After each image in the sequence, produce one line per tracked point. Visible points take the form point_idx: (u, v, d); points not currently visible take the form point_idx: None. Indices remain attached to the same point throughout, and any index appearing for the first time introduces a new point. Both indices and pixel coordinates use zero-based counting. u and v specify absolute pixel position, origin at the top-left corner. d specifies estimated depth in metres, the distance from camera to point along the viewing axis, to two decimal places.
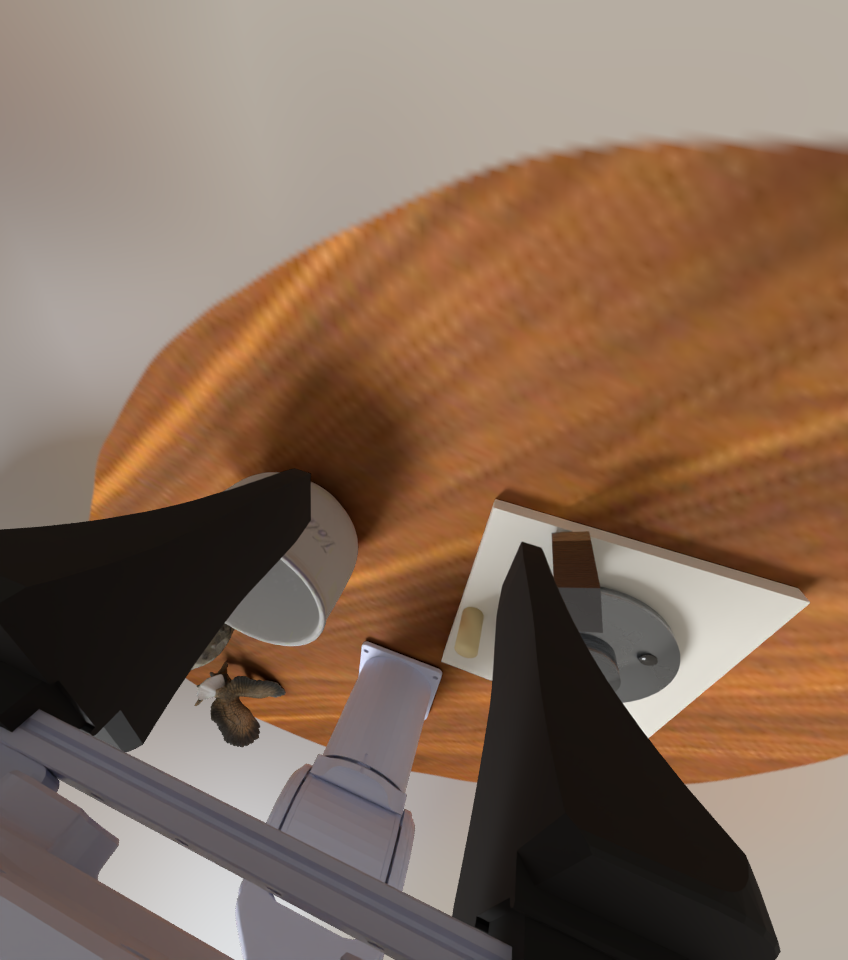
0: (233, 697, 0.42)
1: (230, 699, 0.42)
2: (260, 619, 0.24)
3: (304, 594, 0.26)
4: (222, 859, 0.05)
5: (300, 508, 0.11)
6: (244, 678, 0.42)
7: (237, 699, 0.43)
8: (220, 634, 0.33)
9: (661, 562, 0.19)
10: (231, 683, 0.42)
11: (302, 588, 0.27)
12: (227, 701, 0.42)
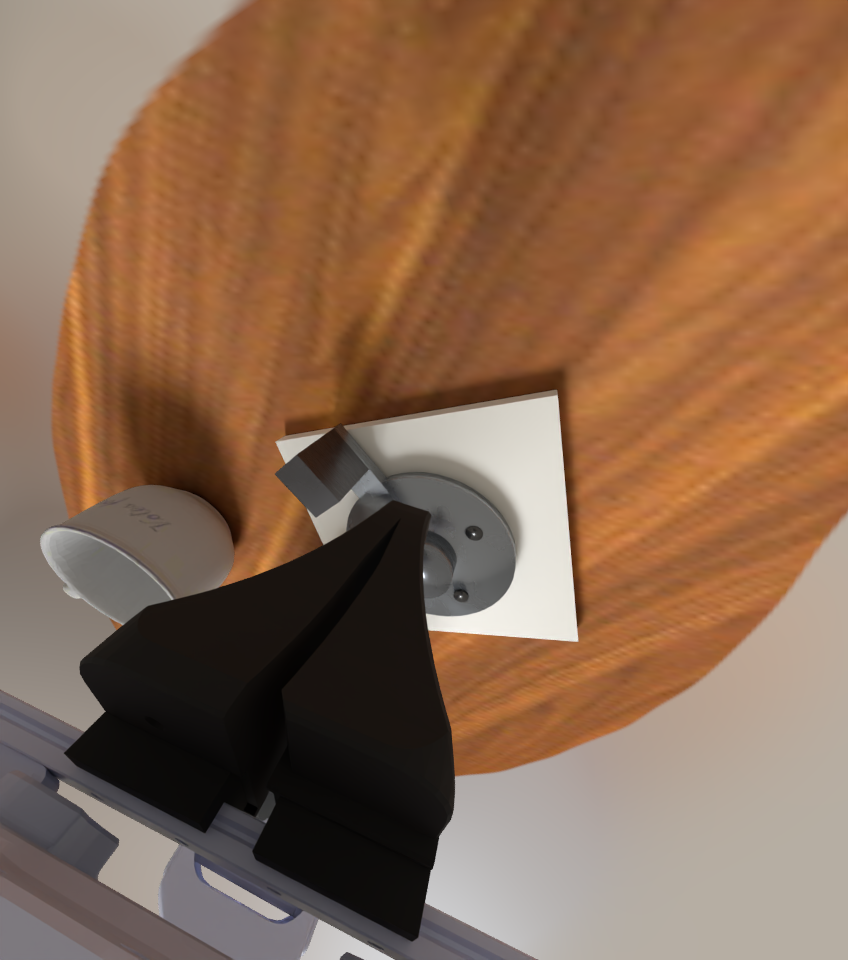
0: None
1: None
2: None
3: None
4: (222, 859, 0.05)
5: None
6: None
7: None
8: None
9: (415, 423, 0.19)
10: None
11: None
12: None
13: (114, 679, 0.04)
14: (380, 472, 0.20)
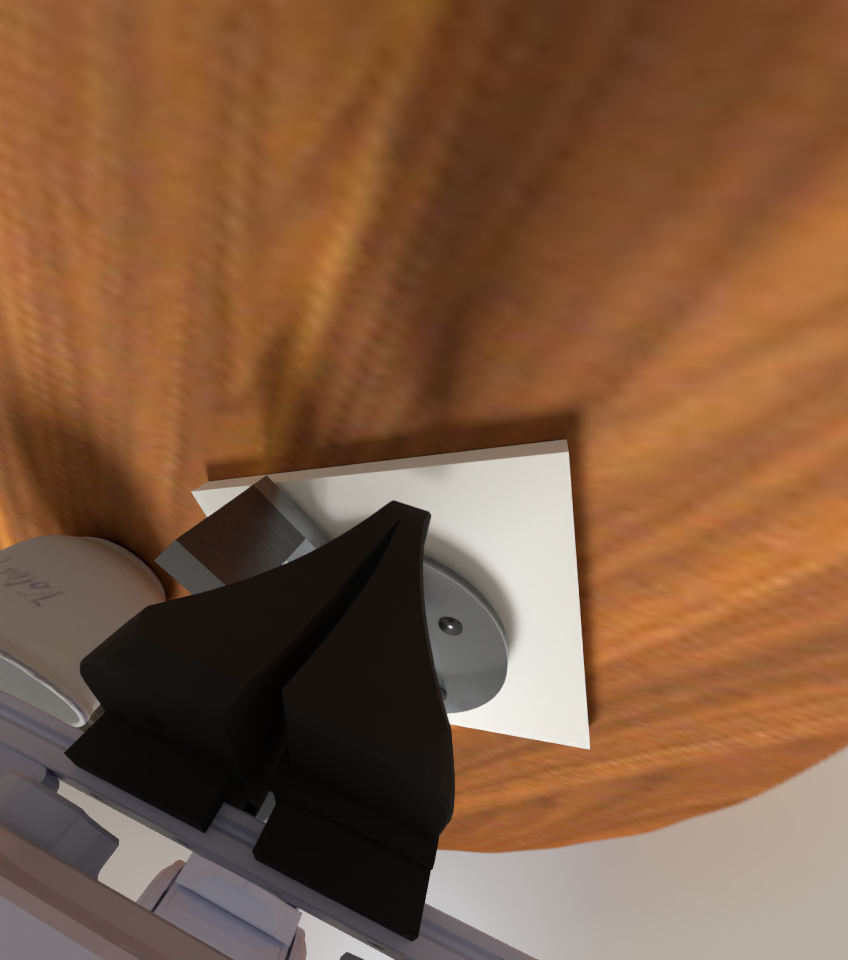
0: None
1: None
2: None
3: None
4: (222, 859, 0.05)
5: None
6: None
7: None
8: None
9: (366, 479, 0.13)
10: None
11: None
12: None
13: (114, 678, 0.04)
14: (324, 539, 0.15)
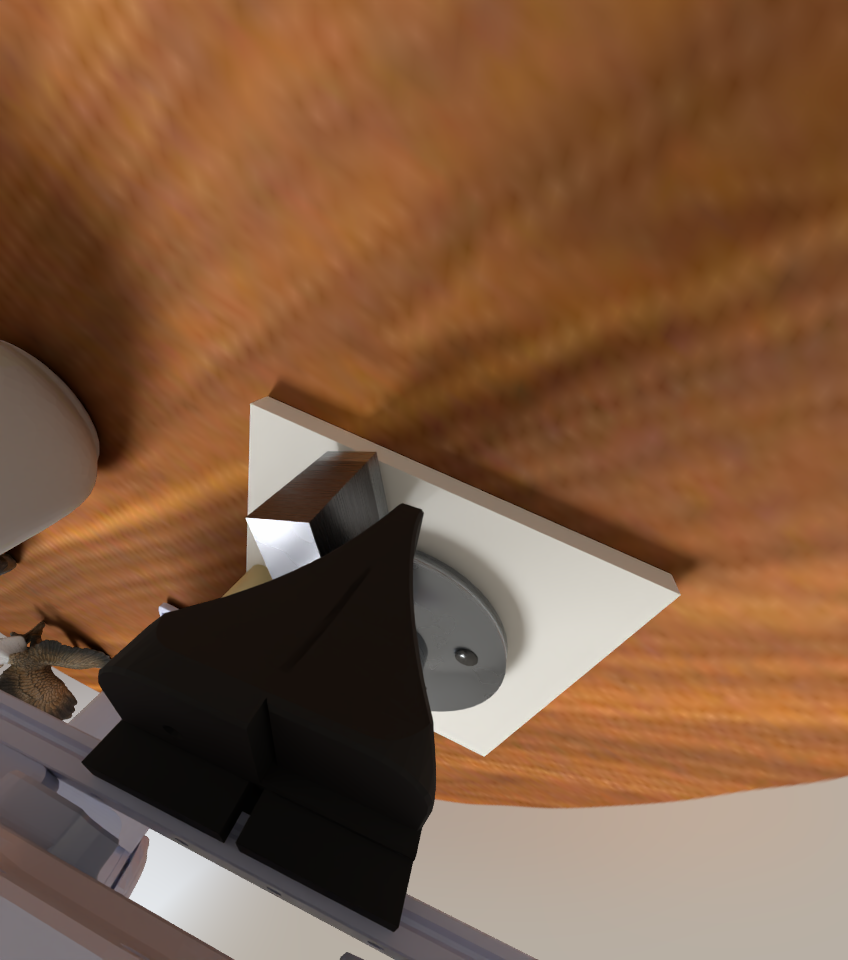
0: (38, 665, 0.33)
1: (33, 668, 0.33)
2: None
3: None
4: (222, 859, 0.05)
5: None
6: (55, 643, 0.33)
7: (46, 668, 0.34)
8: None
9: (483, 514, 0.13)
10: (35, 648, 0.33)
11: None
12: (27, 670, 0.33)
13: (134, 688, 0.04)
14: None
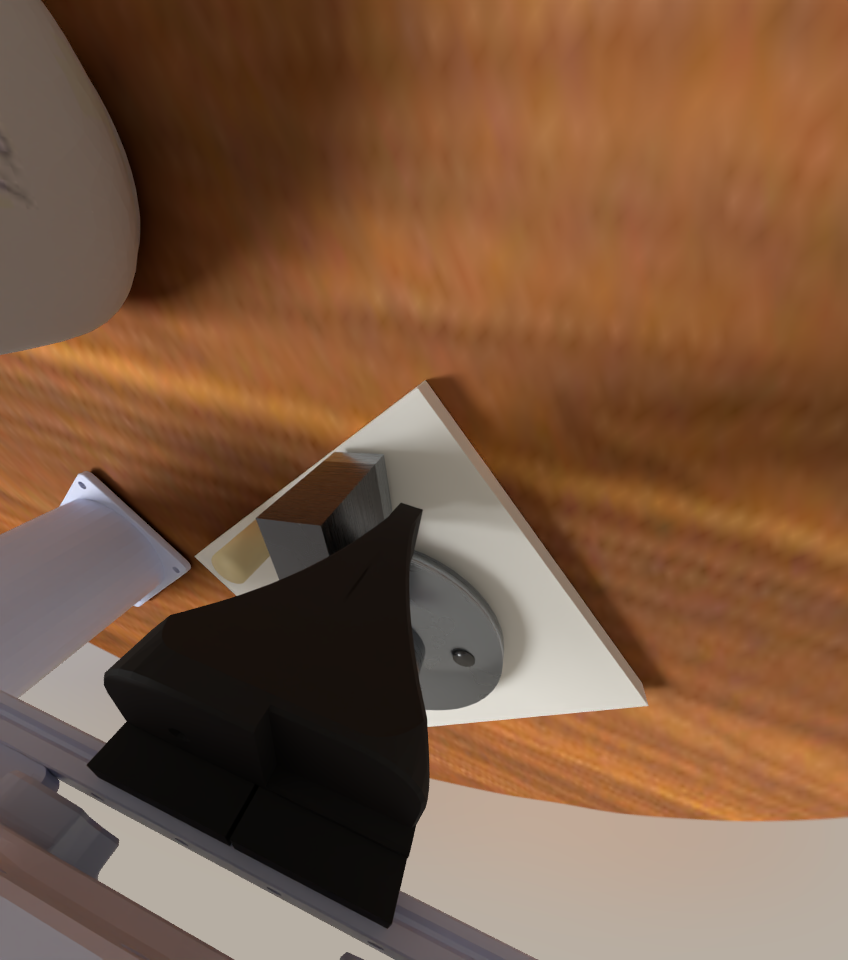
0: None
1: None
2: None
3: None
4: (222, 859, 0.05)
5: (411, 546, 0.11)
6: None
7: None
8: None
9: (560, 596, 0.14)
10: None
11: None
12: None
13: (140, 690, 0.04)
14: None
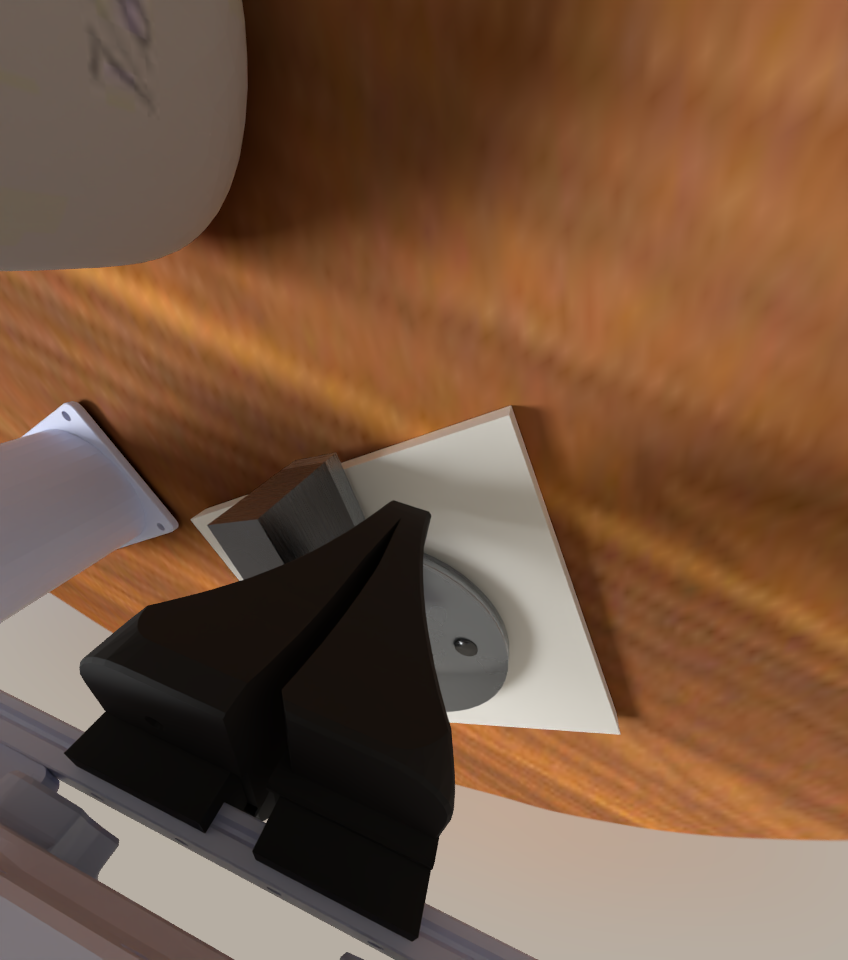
0: None
1: None
2: None
3: None
4: (222, 859, 0.05)
5: None
6: None
7: None
8: None
9: (577, 632, 0.14)
10: None
11: None
12: None
13: (114, 679, 0.04)
14: None
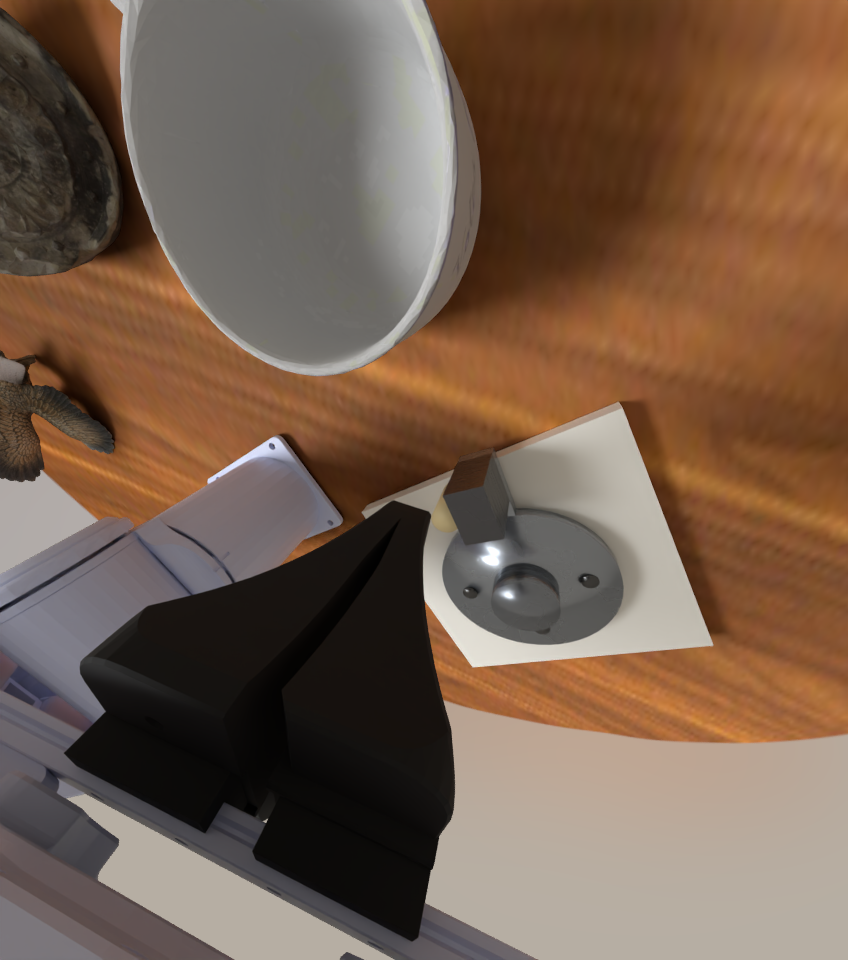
0: (24, 409, 0.26)
1: (17, 408, 0.26)
2: (215, 280, 0.13)
3: (293, 312, 0.16)
4: (222, 859, 0.05)
5: None
6: (63, 397, 0.26)
7: (28, 415, 0.27)
8: (50, 251, 0.18)
9: (674, 560, 0.19)
10: (34, 389, 0.26)
11: (291, 301, 0.16)
12: (10, 407, 0.26)
13: (114, 678, 0.04)
14: (513, 503, 0.20)
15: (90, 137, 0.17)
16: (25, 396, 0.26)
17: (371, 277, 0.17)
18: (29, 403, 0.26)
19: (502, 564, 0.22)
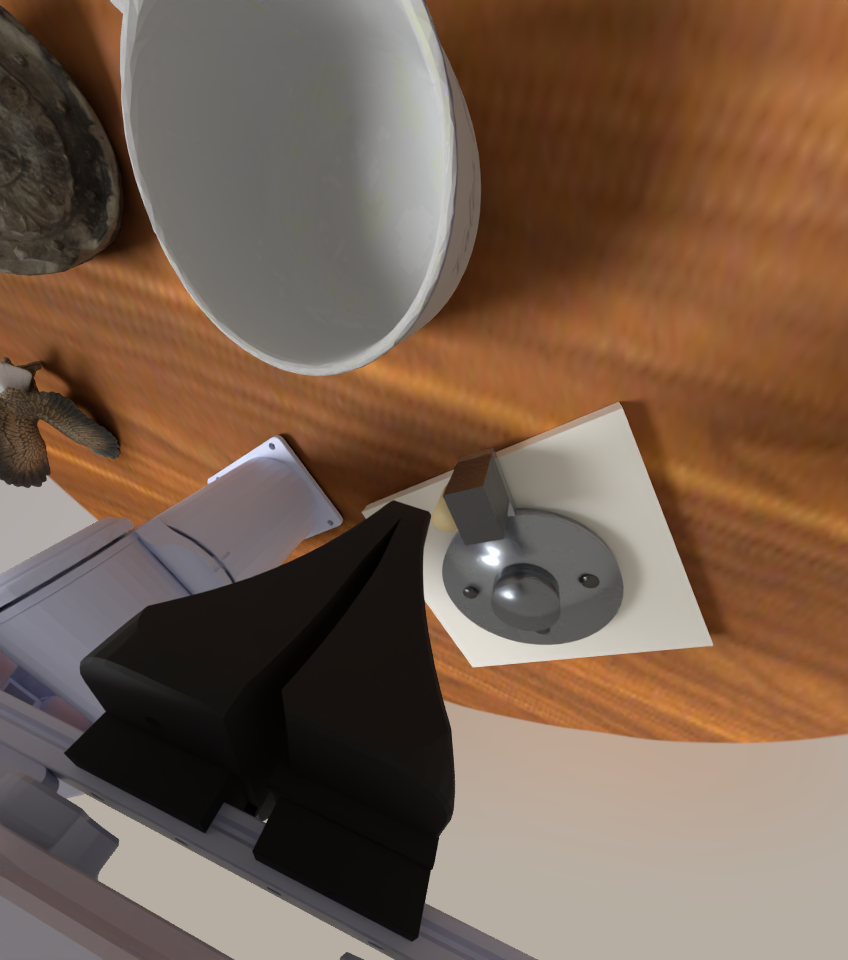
0: (31, 415, 0.26)
1: (24, 414, 0.26)
2: (215, 280, 0.13)
3: (293, 312, 0.16)
4: (222, 859, 0.05)
5: None
6: (69, 403, 0.27)
7: (34, 421, 0.27)
8: (50, 250, 0.18)
9: (674, 560, 0.19)
10: (40, 395, 0.26)
11: (291, 301, 0.16)
12: (17, 414, 0.26)
13: (114, 679, 0.04)
14: (513, 503, 0.20)
15: (90, 136, 0.17)
16: (32, 402, 0.26)
17: (371, 277, 0.17)
18: (35, 409, 0.26)
19: (502, 564, 0.22)
